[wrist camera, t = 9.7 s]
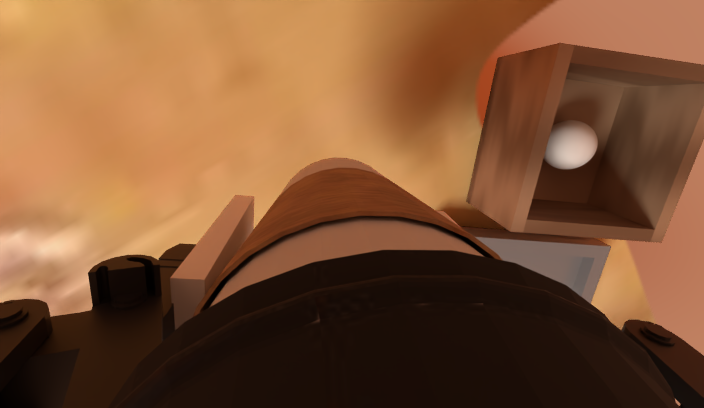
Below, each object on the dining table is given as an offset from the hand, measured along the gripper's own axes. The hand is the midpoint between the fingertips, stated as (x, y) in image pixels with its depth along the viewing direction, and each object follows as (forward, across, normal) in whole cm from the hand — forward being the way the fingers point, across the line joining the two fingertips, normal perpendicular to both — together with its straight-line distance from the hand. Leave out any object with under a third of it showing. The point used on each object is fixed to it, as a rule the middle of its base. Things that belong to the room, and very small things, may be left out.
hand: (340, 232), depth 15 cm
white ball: (+9, +15, +4) cm, 18 cm away
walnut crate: (+9, +15, +4) cm, 18 cm away
